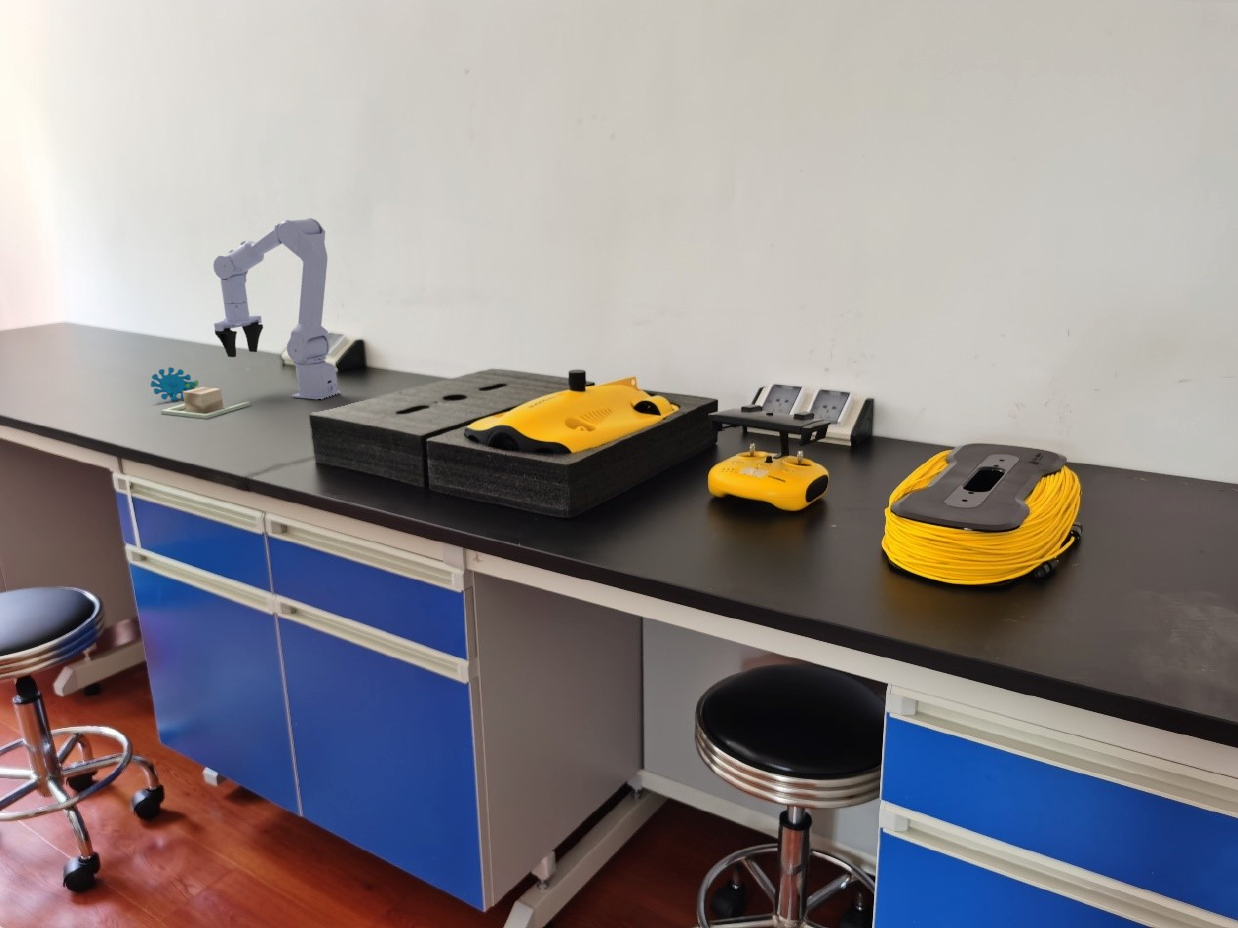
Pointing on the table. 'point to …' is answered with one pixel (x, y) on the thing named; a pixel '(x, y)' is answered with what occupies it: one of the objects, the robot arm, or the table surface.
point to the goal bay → (199, 415)
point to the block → (203, 400)
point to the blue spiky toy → (172, 384)
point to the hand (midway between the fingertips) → (242, 354)
